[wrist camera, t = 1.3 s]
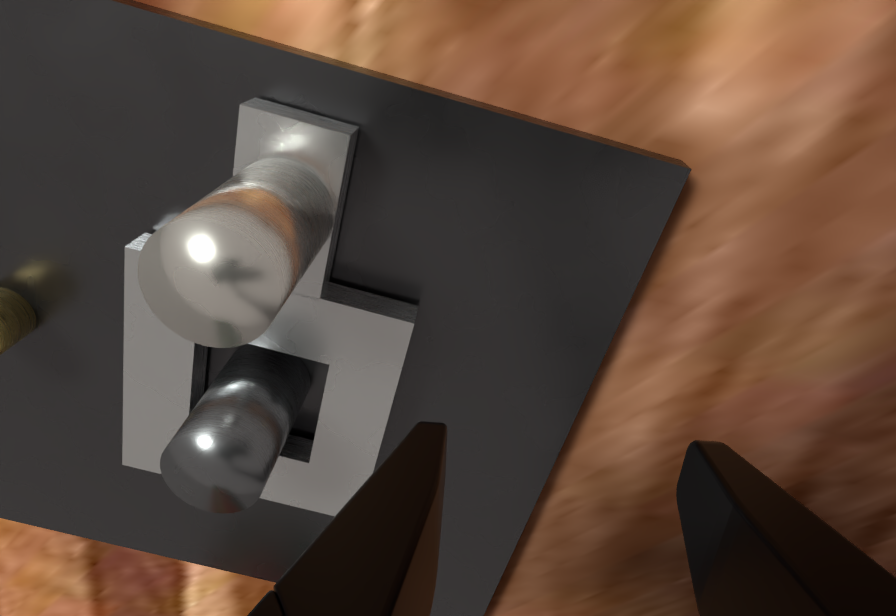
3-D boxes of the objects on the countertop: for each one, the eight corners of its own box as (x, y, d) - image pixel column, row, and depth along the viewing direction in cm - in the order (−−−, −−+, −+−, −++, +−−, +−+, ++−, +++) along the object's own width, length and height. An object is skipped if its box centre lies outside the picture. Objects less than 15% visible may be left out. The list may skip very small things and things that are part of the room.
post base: (477, 609, 28) (473, 751, 23) (5, 498, 27) (-114, 621, 22) (681, 160, 18) (759, 230, 13) (-60, -56, 17) (-314, -78, 12)
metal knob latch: (365, 498, 24) (326, 652, 18) (139, 443, 23) (28, 584, 18) (460, 155, 17) (444, 233, 12) (149, 67, 17) (-20, 104, 11)
